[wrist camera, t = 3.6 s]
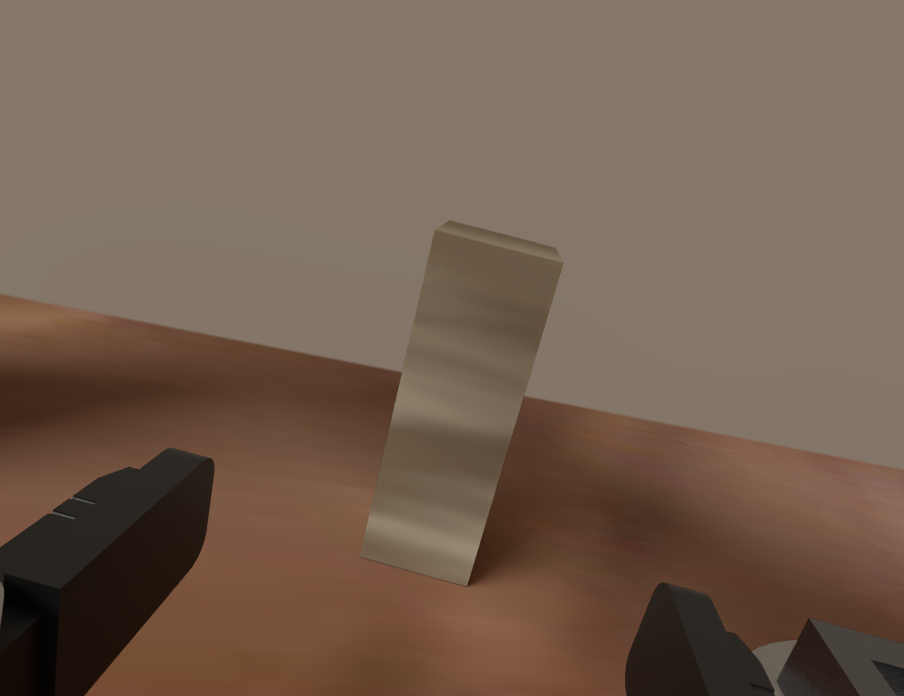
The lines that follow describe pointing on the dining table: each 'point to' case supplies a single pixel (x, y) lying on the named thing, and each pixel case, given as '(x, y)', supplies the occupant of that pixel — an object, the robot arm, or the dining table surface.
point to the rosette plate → (834, 663)
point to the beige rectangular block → (459, 398)
